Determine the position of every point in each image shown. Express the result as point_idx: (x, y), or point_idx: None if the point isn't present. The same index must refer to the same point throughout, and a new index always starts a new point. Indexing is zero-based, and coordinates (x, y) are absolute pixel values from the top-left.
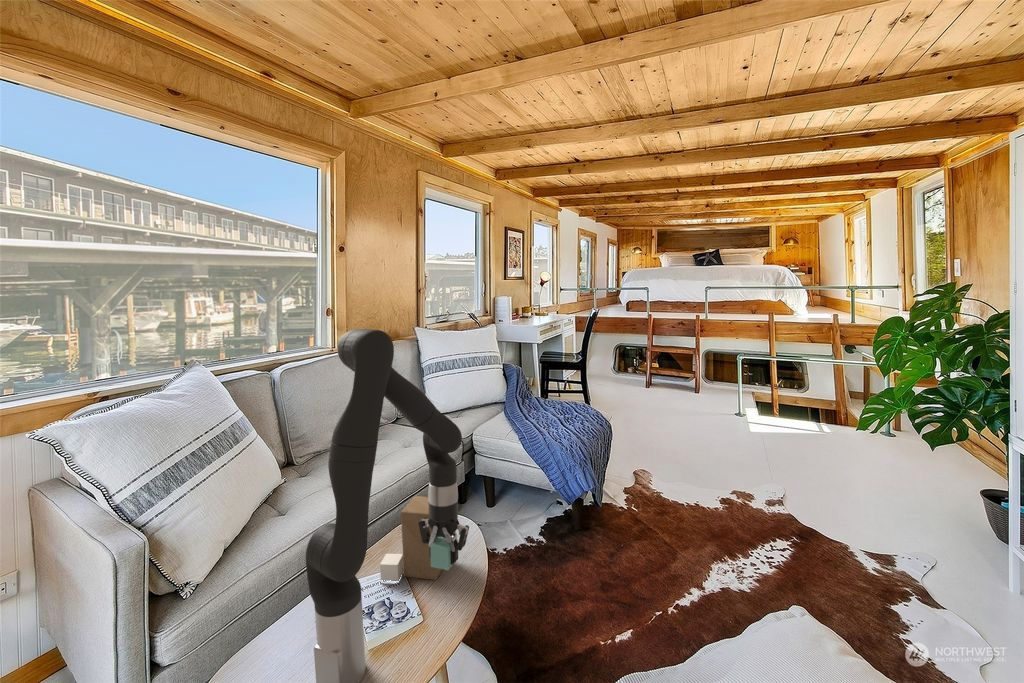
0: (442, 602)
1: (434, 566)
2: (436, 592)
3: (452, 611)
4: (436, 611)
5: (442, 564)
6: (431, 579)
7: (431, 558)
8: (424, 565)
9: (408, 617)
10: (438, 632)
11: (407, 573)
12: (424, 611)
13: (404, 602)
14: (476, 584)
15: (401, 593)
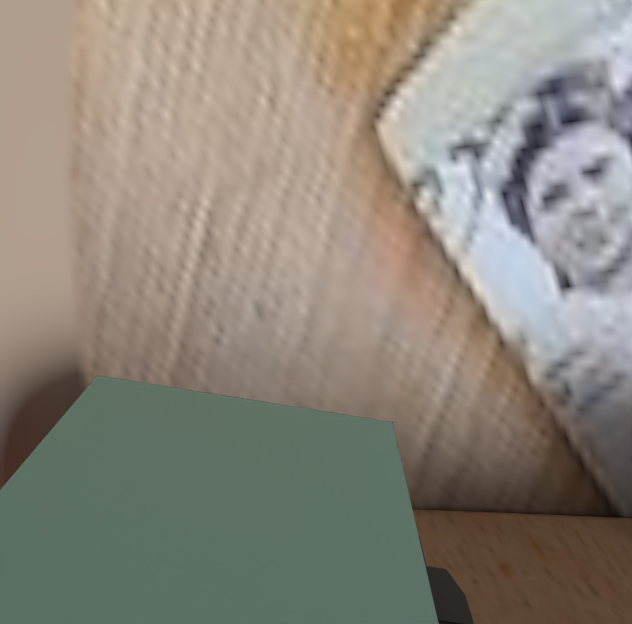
0: (291, 317)
1: (330, 419)
2: (365, 404)
3: (189, 241)
4: (305, 226)
5: (176, 430)
6: (436, 510)
7: (395, 507)
8: (517, 587)
9: (496, 138)
10: (218, 14)
11: (625, 532)
12: (394, 214)
13: (568, 282)
14: None
15: (614, 364)
